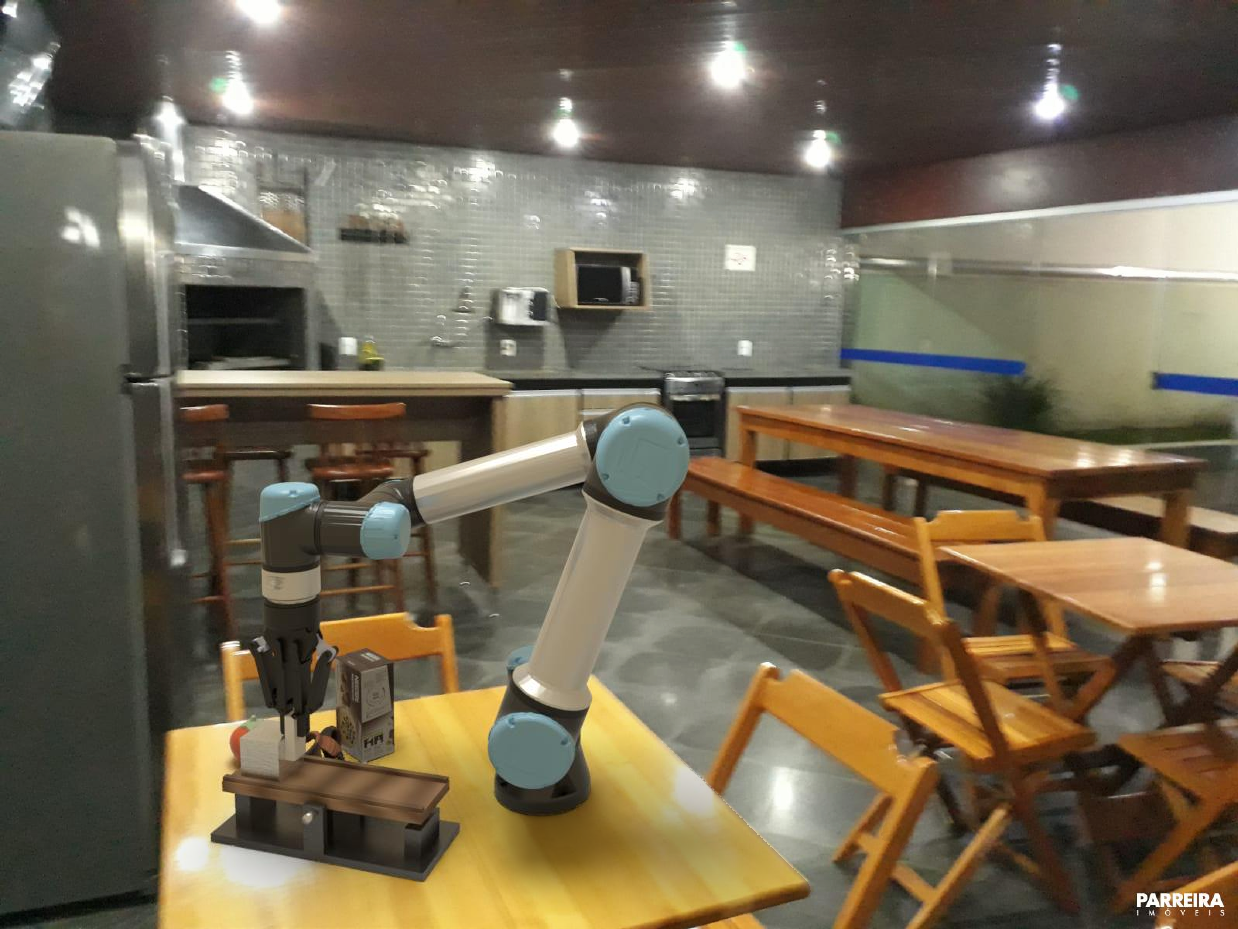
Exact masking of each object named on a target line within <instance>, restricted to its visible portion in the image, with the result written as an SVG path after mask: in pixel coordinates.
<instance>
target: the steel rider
mask: <svg viewBox="0 0 1238 929" xmlns="http://www.w3.org/2000/svg"><path fill="white" fill-rule="evenodd" d="M264 720H265V721H263V722H262V723H260V724H259V725H257V726H256V727H255V728H253V729H252V730H250V731H249V732H248V733H246V734H245V735H243V736H242V737H241V738H240V757H241V763H240V767H241V776H243V777H249V778H255V779H261V780H267V781H274V782H280V783H282V782H283V781H284V780H285V779H286V778H287V777H289V776H290V775H291V774H292V773H293V772H295V771H296V770H297V769H298V768H299V767H300V766H302V765H303V764H304V754H303V755H302V756H301V757H300V758H298V759H297V760H296V761H290V760H286V756H285V735H283V734H281V732H280V720H273V719H264Z"/></svg>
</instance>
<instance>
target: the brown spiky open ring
mask: <svg viewBox="0 0 1238 929" xmlns="http://www.w3.org/2000/svg"><path fill="white" fill-rule="evenodd" d="M312 740H314V742H313V743H312V745H311V746H310V748H308V750H306V753H304V755H311V756H317V757H324V758H330V759H337V760H343V761H347V760H346V758H345V755H344V753H343V749H342V748H341V747H340V745H341V733H340V730H339V729H338V728H337V727H336V726H335V725H329V726H326V727H324V728H323V729H322V730H321V731H320V732H319V731H318V730H310V732H309V733H308V734H307V735H306V744H308V743H311V741H312Z"/></svg>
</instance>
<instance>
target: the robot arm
mask: <svg viewBox="0 0 1238 929" xmlns="http://www.w3.org/2000/svg"><path fill="white" fill-rule="evenodd" d="M690 452H691V450H690V445H689V441H688V438H687V435H686V433H685V432H684V430H683V428H682V426H681V424H680V422H679V421H678V419H677V418H676V416H675V415H674V414H673V413H672V412H671V411H670V410H669V409H668V408H666V407H664V406H662V405H660V404H659V403H654V402H651V401H637V402H630V403H628V404H625V405H623V406H620V407H618V408H617V409H614V410H612V411H610V412H608V413H605V414H602V415H599V416H596V417H593V418H590V419H586V420H582V421H581V422H580V423H579V425H578V427H577V428H576V429H575V430H572V431H569V432H566V433H563V434H559V435H555V436H551V437H548V438H545V439H542V440H538V441H534V442H531V443H528V444H524V445H520V446H517V447H513V448H509V449H507V450H503V451H499V452H495V453H492V454H489V455H486V456H482V457H478V458H475V459H471V460H467V461H464V462H461V463H458V464H453V465H450V466H447V467H444V468H439V469H436V470H432V471H428V472H425V473H422V474H418V475H416V476H413V477H408V478H405V479H402V480H401V479H394V480H389V481H386V482H383V483H380V484H378V486H377V487H374V488H373V490H371V491H370V492H369V493H367V494H366V495H364V496H362V497H361V498H359V499H358V500H356V501H340V500H339V501H338V500H335V501H334V500H326V499H321V494H320V491H319V488H318V487H317V485H315V484H314V483H308V482H307V483H306V482H303V481H293V482H292V481H291V482H290V481H288V482H287V481H286V482H278V483H274V484H270V485H269V486H266V487H264V488H263V490H261V493H260V498H259V518H258V522H259V534H260V552H261V553H260V554H261V562H260V564H261V594H262V596H263V597H265V598H264V599H263V600H262V602H261V603H262V623H263V626H264V628H263V631H262V636H261V635H260V636H258V637H257V638H255V639H252V640H251V641H249V642H248V643H247V644H246V645H247V649H248V650H249V652H250V654H251V656H252V657H253V660H254V662H255V667H256V670H257V674H258V675H257V676H258V678H259V683H260V687H261V690H262V694H263V699H264V702H265V706H266V708H267V709H274V710H275V711H277V713H278V714H279V721H280V732H281V734H283V735H285V756H286V760H290V761H296V760H297V759H298V758H300V757H301V756H302V755H303V754H304V753H306V751H307V748H306V747H307V745H306V744H307V743H306V735H307V734H308V733H309V732H310V731H311V715H312V714H314V713H315V712H317V711H318V710H320V708H322V707H323V706H324V702H325V697H326V692H327V688H328V684H329V678H330V676H331V675H330V674H331V670H332V665H333V662H334V658H335V657H337V655H338V654H339V652H340V649H339V647H338V646H337V645H332V646H330V645H329V643H327V642H325V640H324V636H323V632H322V631H321V626H320V625H321V620H322V597H321V595H319V594H320V592H321V591H322V589H321V586H322V582H321V581H322V580H321V557H337V558H338V557H340V558H354V559H355V558H356V559H359V558H360V559H372V560H377V561H378V560H379V561H380V560H383V559H399V558H401V557H403V556H404V555H405V553H406V552H407V550H408V546H409V545H410V540H411V533H412V532H411V531H412V530H416V529H418V528H422V527H425V526H428V525H431V524H435V523H439V522H442V521H446V520H449V519H453V518H458V517H460V516H463V515H467V514H471V513H475V512H479V511H482V510H485V509H488V508H489V509H490V508H492V507H496V506H499V505H503V504H507V503H510V502H514V501H518V500H522V499H525V498H529V497H532V496H536V495H540V494H544V493H547V492H550V491H555V490H557V489H558V490H559V489H561V488H565V487H569V486H572V485H576V484H580V483H583V486H582V489H581V493H582V495H583V497H584V500H585V501H586V505H587V508H586V509H585V513H584V514H583V515H584V516H583V517H582V519H581V523H580V525H579V528H578V530H577V533H576V536H575V539H574V542H573V544H572V547H571V550H570V552H569V555H568V557H567V559H566V562H565V566H564V568H563V571H562V572H561V575H560V578H559V582H558V584H557V587H556V589H555V591H554V595H553V597H552V600H551V602H550V606H549V608H548V611H547V613H546V616H545V618H544V621H543V624H542V625H541V629H540V632H539V634H538V636H537V640H536V642H535V643H534V645H528V646H527V645H526V646H523V647H520V648H519V647H518V648H517V649H514V650H513V651H512V652H510V654H509V655H508V658H507V664H506V666H505V668H506V670H507V678H506V680H507V681H506V689H505V692H504V694H503V697H502V699H501V702H500V706H499V709H498V712H497V713H496V717H495V720H494V723H493V724H492V726H491V727H490V730H489V733H488V736H487V741H488V743H487V755H488V759H489V762H490V764H491V765H492V767H493V769H494V770H495V774H494V784H493V786H494V790H493V791H494V792H493V793H494V796H495V797H496V799H497V801H498V802H499V803H500V804H501V805H503V806H504V807H505V808H507V809H509V810H511V811H514V812H517V813H521V814H524V815H530V816H531V815H532V816H551V815H558V814H563V813H566V812H569V811H572V810H574V809H576V808H577V807H579V806H581V805H582V804H583V803H584V802H585V801H587V799H588V798H587V797H589V796H590V792H591V773H590V769H589V766H588V763H587V760H586V757H585V753H584V750H583V747H582V743H581V739H582V737H581V736H582V735H581V734H582V727H583V726H584V722H585V720H586V718H587V715H588V712H589V710H590V707H591V704H592V703H593V695H592V692H591V691H590V688H589V686H588V681H589V680H590V677H591V674H592V672H593V669H594V666H595V664H596V661H597V659H598V656H599V654H600V652H601V649H602V647H603V644H604V642H605V639H606V636H607V633H608V632H609V629H610V627H611V623H612V622H613V619H614V616H615V613H616V611H617V609H618V605H619V604H620V600H621V598H622V596H623V592H624V590H625V589H626V588H625V587H626V586H627V583H628V580H629V578H630V575H631V572H632V570H633V567H634V564H635V562H636V559H637V558H638V554H639V552H640V550H641V547H642V544H643V543H644V542H643V541H644V539H645V537H646V534H647V532H648V530H649V529H650V528H653V527H654V526H657V525H658V524H661V523H663V522H664V520H665V517H666V516H667V515H666V514H667V511H668V510H669V507H670V504H671V503H672V499H673V497H674V494H675V493H676V492H677V491H678V489H680V487H681V485H682V484H683V483H684V482H685V480H686V476H687V474H688V471H689V467H690V462H691V454H690ZM315 652H317V653H316V655H315V659H316V660H317V661H316V662H315V665H314V669H313V673H312V668H311V666H312V664H313V660H314V659H313V655H314V654H315ZM580 804H581V805H580Z"/></svg>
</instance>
